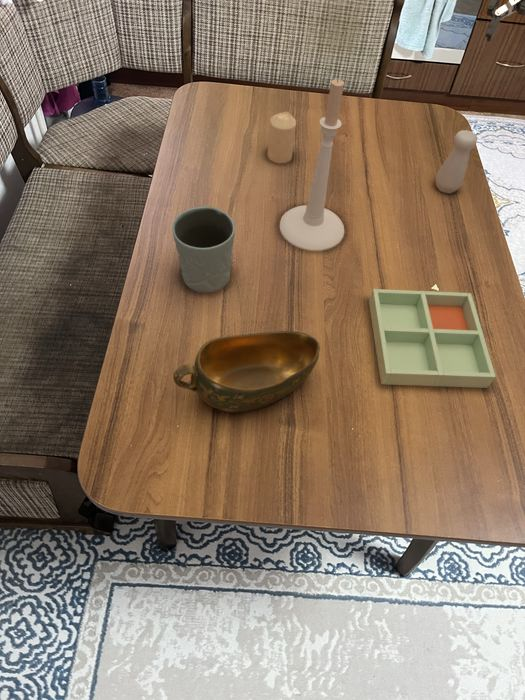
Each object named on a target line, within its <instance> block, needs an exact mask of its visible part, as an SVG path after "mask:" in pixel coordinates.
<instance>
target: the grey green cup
mask: <svg viewBox="0 0 525 700" xmlns="http://www.w3.org/2000/svg"><path fill="white" fill-rule="evenodd" d="M171 231H172V236H173V240H174V243H175V247H176V251H177V255H178V263H179V264H180V269H181V270H180V271H181V275H182V276H181V277H182V280H183V282H184V284H185V285H186V286H187V287H188V288H189V289H191V290H192V291H195V292H197V293H200V294H201V293H203V294H209V293H215V292H218V291H220V290H222V289H223V288H225V287H226V286H227V285H228V283H229V282H230V278H231V268H232V258H233V257H232V256H233V250H234V247H233V246H234V240H235V233H236V232H235V231H236V223H235V221H234V219H233V218H232V217H231V216H230V215H229V214H228V213H227V212H226V211H225V210H222V209H220V208H217V207H213V206H206V205H205V206H196V207H192V208H189V209H186V210H183V212H181V213H180V214H178V215H177V216H176V217H175V218H174V221H173V222H172V227H171Z"/></svg>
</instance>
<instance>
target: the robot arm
mask: <svg viewBox="0 0 525 700" xmlns="http://www.w3.org/2000/svg"><path fill="white" fill-rule="evenodd" d="M500 1H501V0H489V2H488V4H487V8H486V15H487V17H488V16H489V17H491V20H490V23H489V24H488V27H487V29H486V33H485V37H486V42H488V43H489V42H490V43H491V42H492V40H493V38H494V35H495V33H496V31H497V29H498V27H499V26H500V23H501V20H503V19H505V18H506V17H509V16H511V15H512V14H514V13H515V12H517V14H518V15H521V16H525V0H508V1H506V2H505V3H504V4H503V5H502V6H500V7H498V5H499V3H500Z"/></svg>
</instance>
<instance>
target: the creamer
mask: <svg viewBox="0 0 525 700" xmlns="http://www.w3.org/2000/svg"><path fill="white" fill-rule="evenodd" d="M320 352H321V345H320V342H319V341H318V340H317V338H315V337H314V336H312V335H311V334H308V333H304V332H300V331H295V330H279V331H278V330H276V331H275V330H274V331H265V332H255V333H244V334H235V335H233V334H232V335H224V336H220V337H215V338H213V339H212V338H211V339H210V340H208V341H206V342H205V343H203V345H201V347H200V348H199V349H198V351H197V353H196V357H195V360H194V363H193V364H194V365H193V364H184V365H181V366H179V367H177V368H176V369H175V371H174V372H173V382H174V384H175V385H177V386H178V387H179V388H182V389H185V390H190V391H192V392H194V393H196V394H197V395H198V396H199V397H200V398H201V399H202V400H203V401H204V402H205V403H206V404H207V405H209V406H211V407H212V408H214V409H216V410H219V411H222V412H224V413H229V414H245V413H250V412H254V411H259V410H262V409H263V408H267V407H269V406H271V405H273V404H275V403H277V402H279V401H280V400H282V399H284V398H286V397H287V396H289V394H291V393H293V392H294V391H295V390H297V389H298V388H299V387H300V386H301V385H302V384H303V383H304V382H305V381H307V379H308V378H309V376H310V375H311V374H312V372H313V370H314V368H315V366H316V364H317V363H318V361H319V357H320ZM187 375H190V380H189V381H184V380H183V378H184V376H187Z"/></svg>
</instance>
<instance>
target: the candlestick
mask: <svg viewBox="0 0 525 700" xmlns="http://www.w3.org/2000/svg"><path fill="white" fill-rule="evenodd" d="M344 87H345V82H344V80H342V79H341V78H340V79H339V78H334V79H332V80H331V82H330V87H329V93H328V99H327V105H326V110H325V116H323V117H321V118H320V119H319V124H320V126H321V129H320V132H321V134H322V140H321V141H320V147H319V151H318V155H317V160H316V164H315V168H314V172H313V177H312V182H311V186H310V190H309V195H308V200H307V204H305V205H303V204H302V205H298V206H295V207H292V208H290V209H289V210H287V211H286V212H285V213H284V214H283V215H282V216H281V218H280V220H279V232H280V234H281V235H282V237H283V238H284V240H285V241H286V242H288V243H289V244H290V245H291V246H293V247H295V248H298V249H300V250H304V251H308V252H309V251H310V252H322V251H327V250H330V249H333V248H335V247H336V246H337V245H338V244H340V243H341V241H342V240H343V238H344V235H345V226H344V223H343V221H342V220H341V218H340V217H339V216H338V215H337V214H336V213H335V212H333V211H331V210H330V209H328V208H325V207H326V199H327V198H326V197H327V191H328V184H329V175H330V168H331V161H332V151H333V147H334V142H333V140H334V137H335V136H337V134H338V129H340V128H341V126H342V121H341V120H340V119H339V113H340V108H341V103H342V97H343V93H344Z"/></svg>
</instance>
